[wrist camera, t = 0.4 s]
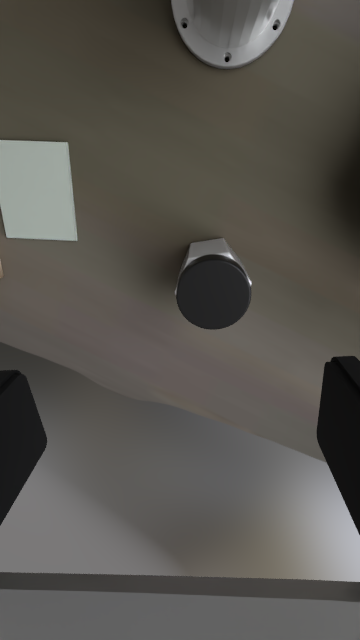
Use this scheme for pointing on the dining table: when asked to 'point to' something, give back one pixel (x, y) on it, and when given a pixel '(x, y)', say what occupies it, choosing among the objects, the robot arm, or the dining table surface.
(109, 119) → the dining table surface
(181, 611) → the robot arm
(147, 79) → the dining table surface
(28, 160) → the mat
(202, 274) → the jar
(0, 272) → the post base
